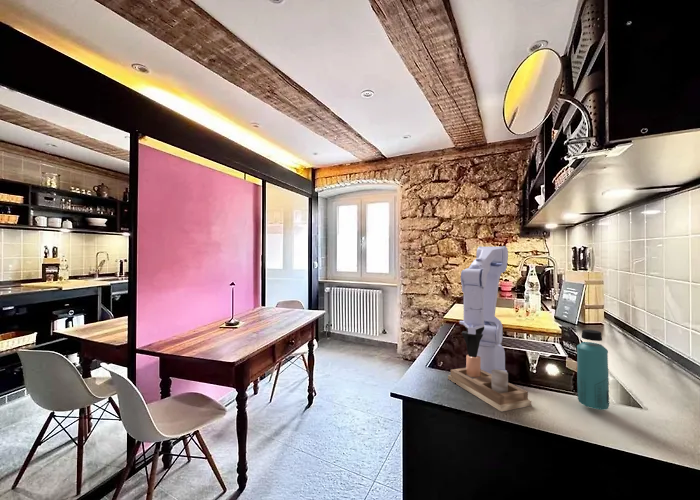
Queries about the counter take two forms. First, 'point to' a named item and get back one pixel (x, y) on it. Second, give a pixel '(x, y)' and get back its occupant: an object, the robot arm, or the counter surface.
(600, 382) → the beverage bottle
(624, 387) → the counter surface
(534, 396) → the counter surface
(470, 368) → the peach rounded capsule
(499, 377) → the socket holder
